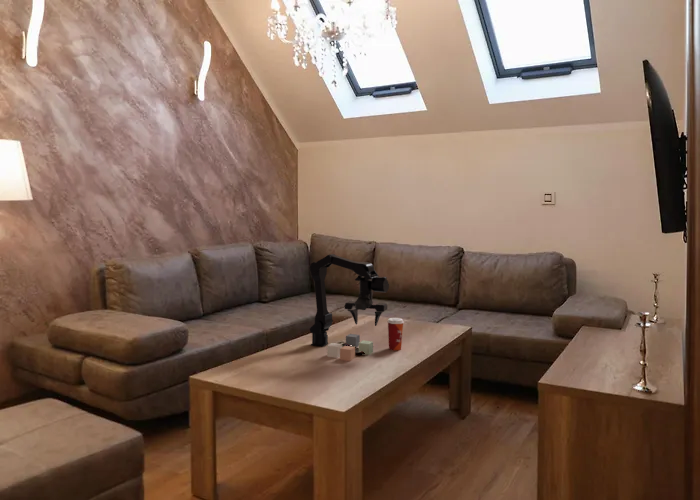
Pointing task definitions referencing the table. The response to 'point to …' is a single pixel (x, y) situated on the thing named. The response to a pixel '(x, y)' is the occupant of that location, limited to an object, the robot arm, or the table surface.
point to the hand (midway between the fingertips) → (366, 325)
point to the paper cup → (395, 333)
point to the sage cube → (366, 347)
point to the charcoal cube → (353, 339)
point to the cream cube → (333, 350)
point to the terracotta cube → (347, 353)
